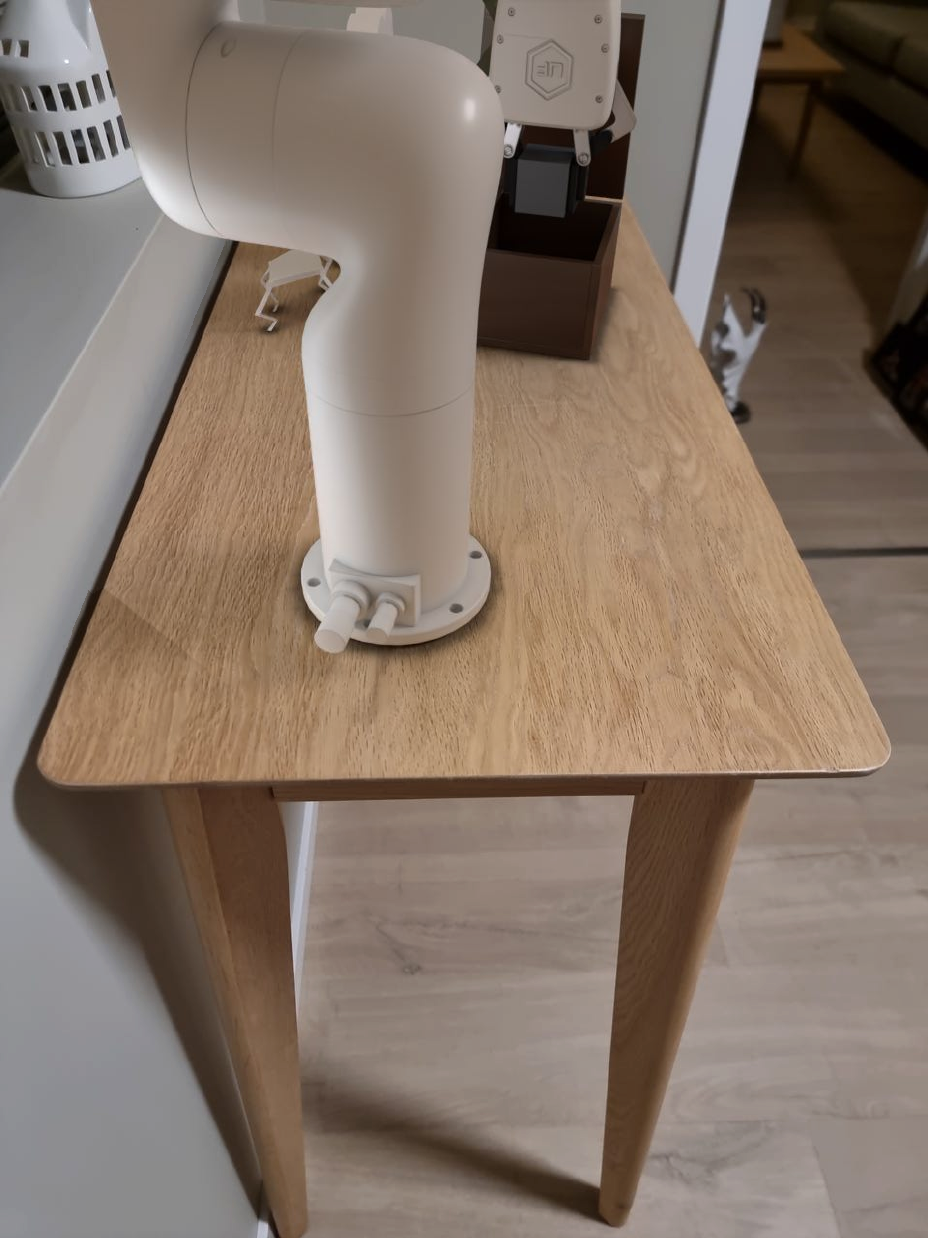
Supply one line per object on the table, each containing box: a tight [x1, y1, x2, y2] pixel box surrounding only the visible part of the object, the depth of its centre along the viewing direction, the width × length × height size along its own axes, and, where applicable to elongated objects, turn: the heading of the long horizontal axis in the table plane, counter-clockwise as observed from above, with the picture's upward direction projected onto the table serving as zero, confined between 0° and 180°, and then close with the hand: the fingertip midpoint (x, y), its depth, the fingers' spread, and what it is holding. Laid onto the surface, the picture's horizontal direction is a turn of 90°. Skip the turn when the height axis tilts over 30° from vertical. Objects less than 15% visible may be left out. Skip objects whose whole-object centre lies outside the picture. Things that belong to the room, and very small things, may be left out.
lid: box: [494, 3, 646, 201], centre depth 84 cm, size 16×13×5 cm
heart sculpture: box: [345, 7, 394, 35], centre depth 112 cm, size 16×5×18 cm, turn 176°
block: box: [515, 143, 576, 218], centre depth 81 cm, size 4×4×4 cm
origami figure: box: [254, 249, 334, 332], centre depth 89 cm, size 12×8×5 cm
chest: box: [476, 189, 623, 361], centre depth 88 cm, size 16×13×9 cm
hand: (543, 202), depth 82 cm, fingers closed on block, 4 cm apart
